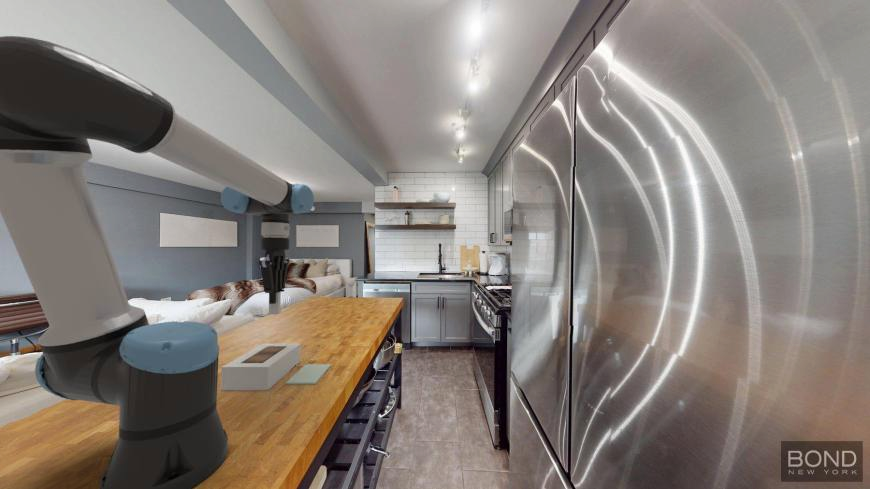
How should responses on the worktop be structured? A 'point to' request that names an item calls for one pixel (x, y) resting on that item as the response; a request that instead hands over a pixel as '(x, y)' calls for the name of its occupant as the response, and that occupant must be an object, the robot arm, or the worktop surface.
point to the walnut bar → (264, 355)
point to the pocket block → (259, 369)
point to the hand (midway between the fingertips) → (274, 313)
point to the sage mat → (308, 374)
